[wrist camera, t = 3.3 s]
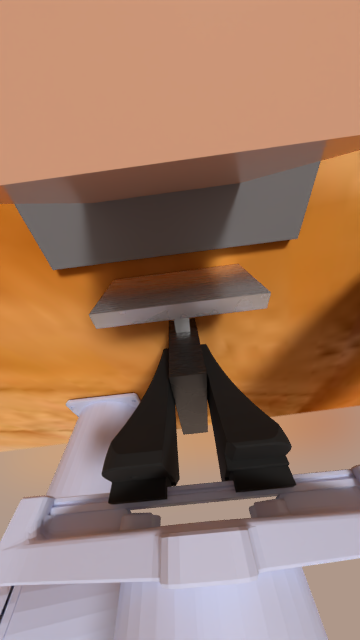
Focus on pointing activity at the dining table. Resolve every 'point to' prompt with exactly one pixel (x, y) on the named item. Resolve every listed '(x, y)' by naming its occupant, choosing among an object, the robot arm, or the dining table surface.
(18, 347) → the dining table surface
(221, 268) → the turner
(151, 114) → the tile
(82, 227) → the mat
